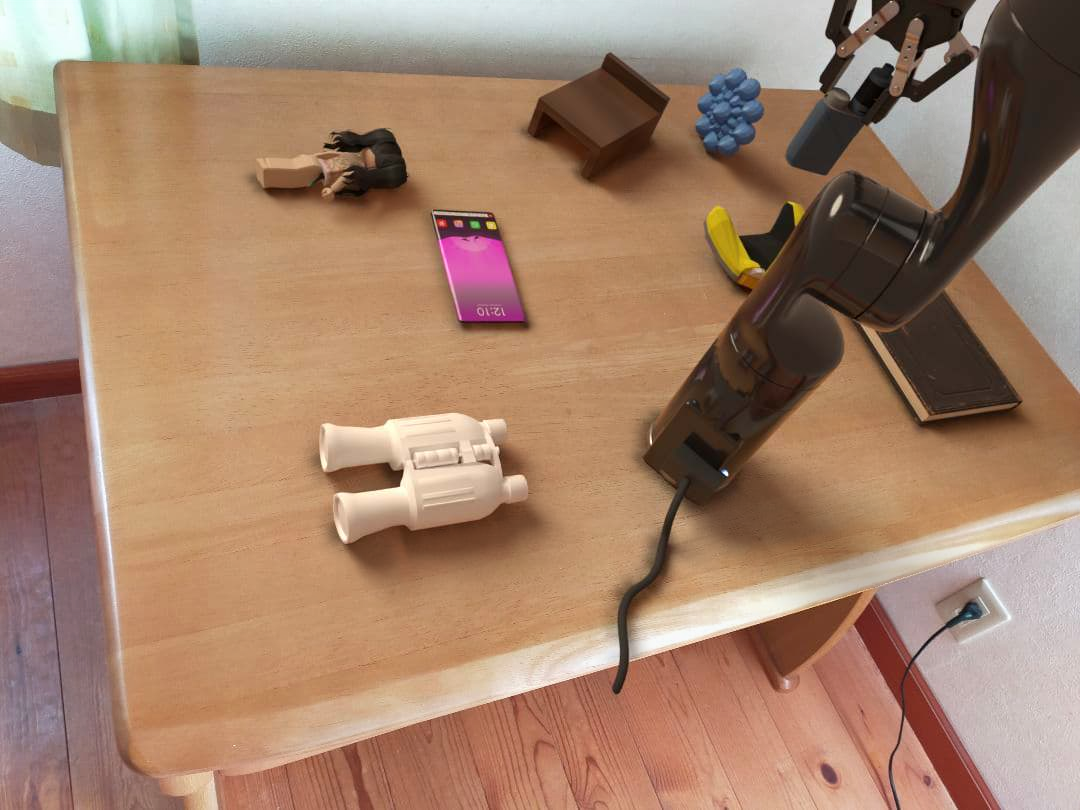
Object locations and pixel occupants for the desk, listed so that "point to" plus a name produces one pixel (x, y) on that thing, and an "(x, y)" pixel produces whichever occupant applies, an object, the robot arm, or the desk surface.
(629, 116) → the shelf
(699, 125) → the grapes
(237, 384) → the desk surface
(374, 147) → the toy figure
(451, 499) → the binoculars
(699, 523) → the desk surface
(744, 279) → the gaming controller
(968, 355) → the hardcover book
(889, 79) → the vaping device
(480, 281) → the smartphone
